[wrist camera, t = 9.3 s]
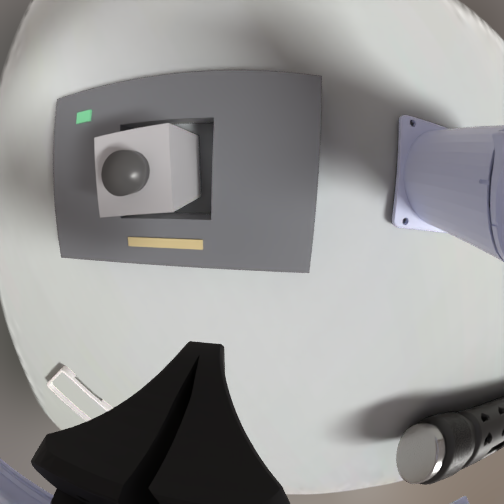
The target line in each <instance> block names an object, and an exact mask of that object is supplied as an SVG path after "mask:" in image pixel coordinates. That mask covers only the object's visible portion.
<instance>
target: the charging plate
mask: <svg viewBox="0 0 504 504" xmlns="http://www.w3.org/2000/svg"><path fill="white" fill-rule="evenodd" d="M321 93H322V76H317V75H309V74H300V73H290V72H277V71H258V70H217V71H197V72H185V73H175V74H166V75H158V76H151V77H145V78H139V79H133V80H128V81H123V82H118V83H113V84H109V85H105V86H101V87H97V88H93V89H89V90H85V91H82V92H78V93H75V94H72V95H69V96H65V97H62V98H59V99H57V106H56V116H55V129H54V150H53V178H54V200H55V213H56V223H57V231H58V239H59V246H60V253H61V258H73V259H85V260H97V261H110V262H123V263H137V264H151V265H166V266H181V267H198V268H215V269H233V270H253V271H274V272H297V273H309V269H310V261H311V252H312V243H313V233H314V223H315V212H316V200H317V187H318V173H319V156H320V134H321ZM165 123H170V124H186V123H214V132H213V158H212V198H211V214H199V213H152V214H138V215H125V216H113V217H102V218H100V213H99V205H98V195H97V184H96V170H95V148H94V138H95V137H99V136H103V135H107V134H112V133H116V132H121V131H126V130H131V129H134V128H137V127H146V126H153V125H159V124H165Z"/></svg>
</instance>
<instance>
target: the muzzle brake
mask: <svg viewBox="0 0 504 504" xmlns="http://www.w3.org/2000/svg"><path fill="white" fill-rule="evenodd" d="M503 447H504V397H501V398H499V399H496V400H493V401H490V402H487V403H484V404H483V405H481V406H475V407H474V408H471V409H467V410H464V411H460V412H457V413H454V412H452V411H451V412H447V413H442V414H438V415H434V416H430V417H427V418H425V419H423V420H422V421H420V422H419V423H418V424H416V425H413V426H411V427H410V428H408V429H407V430H406V431H405V432H404V434H403V435H402V437H401V439H400V442H399V444H398V448H397V455H396V462H397V468H398V471H399V474H400V476H401V477H402V478H403V479H404V480H405V481H406V482H408V483H411V484H425V485H426V484H432V483H435V482H437V481H440V480H442V479H445V478H447V477H449V476H452V475H454V474H455V473H457V472H458V471H459V470H461V469H463V468H465V467H468V466H469V465H472V464H474V463H476V462H477V461H480V460H481V459H483V458H485V457H487V456H489V455H491V454H492V453H494V452H496V451H498V450H499V449H501V448H503Z"/></svg>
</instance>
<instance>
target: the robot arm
mask: <svg viewBox="0 0 504 504" xmlns="http://www.w3.org/2000/svg"><path fill="white" fill-rule="evenodd" d="M410 120H411V121H412V122H413V127H412V126H411V125H410ZM404 218H406V222H405V223H404V224H403V219H404ZM392 223H393V225H394V226H396V227H398V228H407V229H417V230H426V231H435V232H443V233H449V234H451V235H453V236H455V237H457V238H459V239H461V240H463V241H465V242H467V243H469V244H471V245H473V246H475V247H477V248H479V249H481V250H483V251H485V252H487V253H489V254H490V255H492V256H494V257H496V258H498V259H500V260H501V261H503V262H504V126H480V127H466V128H454V129H448V128H446V127H443V126H440V125H437V124H434V123H431V122H428V121H425V120H422V119H419V118H415V117H412V116H408V115H402V116H400V118H399V139H398V162H397V176H396V187H395V197H394V206H393V214H392ZM31 463H32V465H33V467H34V468H35V469H36V470H37V471H38V472H39V473H40V474H41V475H42V476H43V477H44V478H45V479H46V480H48V481H49V482H50V483H51V484H52V485H53V486H55V487H56V488H57V490H56V492H55V494H54V495H52V494H50V493H49V492H47V491H45V490H44V489H42V488H40V487H39V486H37V485H36V484H34V483H33V482H31V481H30V480H28V479H27V478H25V477H24V476H23V475H21V474H20V473H18V472H17V471H16V470H15V469H13V468H12V467H11V466H9V465H8V464H7V463H5V462H4V461H3V460H2V459H0V504H290V502H289V500H288V498H287V496H286V494H285V492H284V490H283V487H282V486H281V484H280V483H279V482H278V481H277V480H276V478H275V477H274V476H273V475H272V473H271V472H270V471H269V469H268V468H267V467H266V465H265V464H264V462H263V461H262V460H261V458H260V457H259V455H258V454H257V452H256V450H255V449H254V447H253V445H252V443H251V442H250V440H249V438H248V436H247V435H246V433H245V431H244V429H243V427H242V425H241V423H240V420H239V418H238V416H237V413H236V411H235V408H234V406H233V403H232V400H231V397H230V394H229V390H228V386H227V382H226V378H225V362H224V346H223V345H222V344H212V343H202V342H192V341H190V342H188V343H187V344H186V345H185V347H184V348H183V349H182V350H181V351H180V352H179V353H178V354H177V356H176V357H175V358H174V359H173V360H172V361H171V362H170V363H169V364H168V365H167V366H166V367H165V368H164V369H163V370H162V371H161V372H160V373H159V374H158V375H157V376H156V377H155V378H153V379H152V380H151V381H150V382H149V383H148V384H146V385H145V386H144V387H143V388H142V389H141V390H139V391H138V392H137V393H135V394H134V395H133V396H131V397H130V398H128V399H127V400H126V401H124V402H123V403H121V404H119V405H118V406H116V407H114V408H113V409H111V410H109V411H108V412H106V413H104V414H102V415H100V416H98V417H96V418H94V419H91V420H89V421H87V422H85V423H82V424H80V425H77V426H74V427H71V428H68V429H65V430H61V431H58V432H54V433H51V434H47V435H46V437H45V438H44V440H43V441H42V443H41V445H40V446H39V448H38V450H37V451H36V453H35V455H34V457H33V458H32V460H31ZM450 504H469V502H468V500H467V497H466V496H463V497H461V498H460V499H458V500H456V501H454V502H452V503H450Z"/></svg>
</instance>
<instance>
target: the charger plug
mask: <svg viewBox="0 0 504 504" xmlns="http://www.w3.org/2000/svg"><path fill="white" fill-rule="evenodd" d="M94 148H95V170H96V184H97V195H98V205H99V213H100V218H102V217H113V216H125V215H138V214H152V213H167V212H175V211H176V210H178V209H180V208H182V207H183V206H185V205H187V204H189V203H190V202H192V201H194V200H196V199H198V198H199V197H201V177H200V154H199V136H198V135H196V134H193V133H191V132H189V131H187V130H184V129H182V128H180V127H177V126H175V125H173V124H170V123H165V124H159V125H153V126H147V127H141V128H136V129H131V130H126V131H121V132H116V133H112V134H107V135H103V136H99V137H95V138H94Z"/></svg>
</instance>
